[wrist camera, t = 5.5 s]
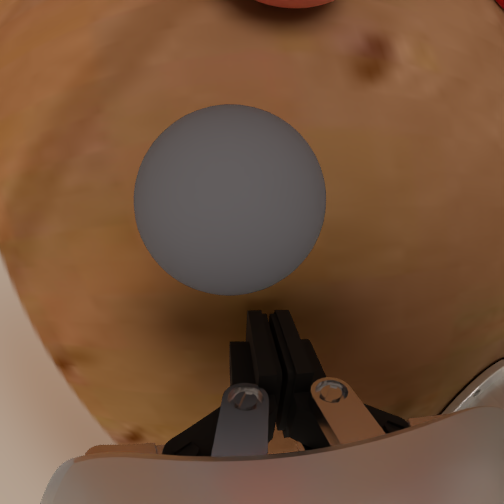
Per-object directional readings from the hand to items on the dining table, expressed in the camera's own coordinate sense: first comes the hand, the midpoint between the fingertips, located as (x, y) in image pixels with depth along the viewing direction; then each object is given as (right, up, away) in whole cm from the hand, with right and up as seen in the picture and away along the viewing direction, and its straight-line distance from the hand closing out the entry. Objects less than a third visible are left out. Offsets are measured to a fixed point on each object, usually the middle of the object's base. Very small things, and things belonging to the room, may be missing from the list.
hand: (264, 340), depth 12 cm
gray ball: (-1, +5, -3) cm, 6 cm away
